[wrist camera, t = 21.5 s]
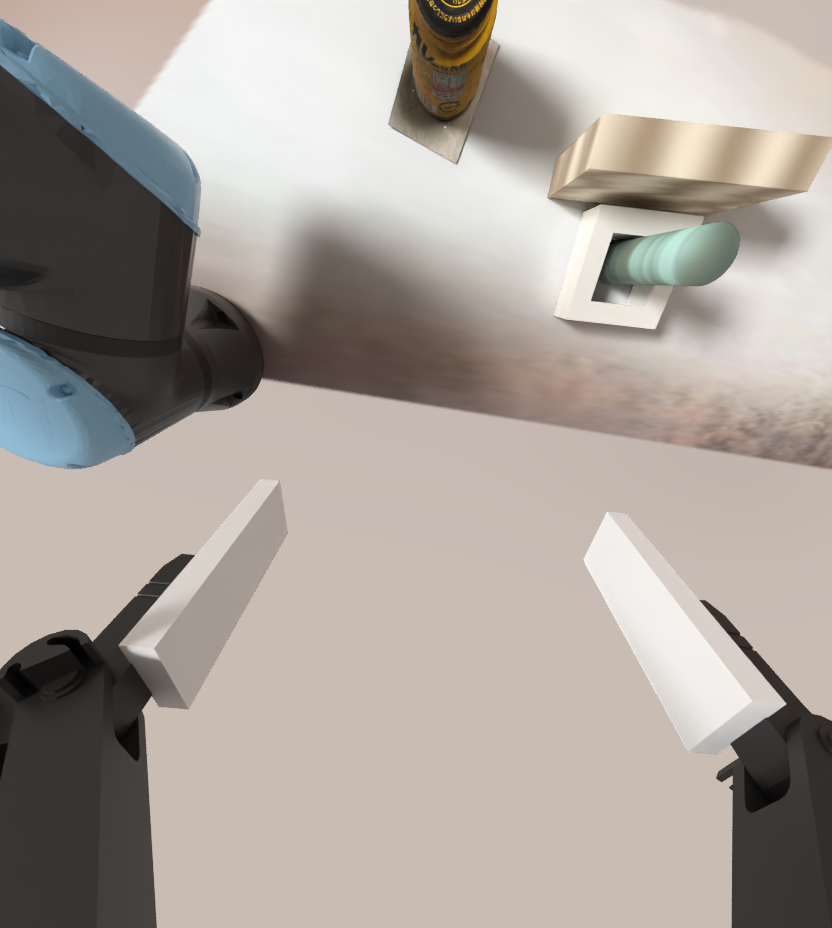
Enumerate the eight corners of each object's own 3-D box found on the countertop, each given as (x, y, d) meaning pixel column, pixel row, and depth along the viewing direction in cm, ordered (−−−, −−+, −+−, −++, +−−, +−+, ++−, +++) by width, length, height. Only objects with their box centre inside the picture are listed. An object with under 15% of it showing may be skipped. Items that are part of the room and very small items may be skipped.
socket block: (553, 315, 39) (565, 319, 35) (583, 212, 34) (601, 204, 30) (634, 324, 39) (655, 329, 35) (676, 222, 34) (704, 216, 30)
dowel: (590, 282, 37) (668, 283, 25) (603, 240, 35) (696, 218, 23) (624, 285, 37) (719, 288, 25) (639, 243, 35) (751, 224, 23)
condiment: (499, 45, 28) (539, -93, 18) (455, 164, 32) (468, 108, 22) (423, -4, 27) (419, -183, 16) (388, 126, 31) (367, 47, 20)
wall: (547, 197, 33) (589, 168, 24) (556, 158, 32) (604, 112, 23) (708, 214, 33) (807, 191, 25) (725, 176, 32) (836, 137, 23)
